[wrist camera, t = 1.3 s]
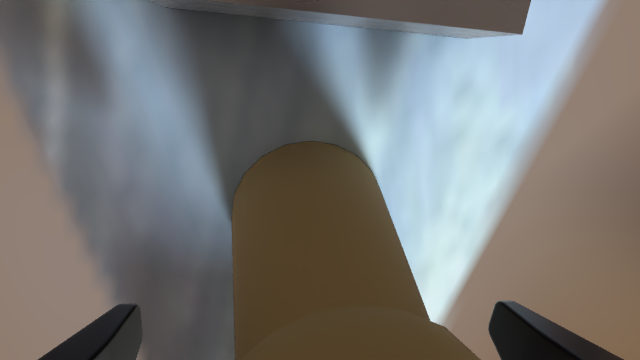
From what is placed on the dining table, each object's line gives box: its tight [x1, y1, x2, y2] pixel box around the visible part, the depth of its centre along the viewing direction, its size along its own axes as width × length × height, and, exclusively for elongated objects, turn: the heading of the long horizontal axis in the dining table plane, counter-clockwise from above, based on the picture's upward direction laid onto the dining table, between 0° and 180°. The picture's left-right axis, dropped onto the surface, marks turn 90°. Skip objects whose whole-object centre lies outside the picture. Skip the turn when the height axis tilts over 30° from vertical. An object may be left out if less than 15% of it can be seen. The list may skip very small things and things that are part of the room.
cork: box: [232, 141, 480, 360], centre depth 9 cm, size 6×6×11 cm
